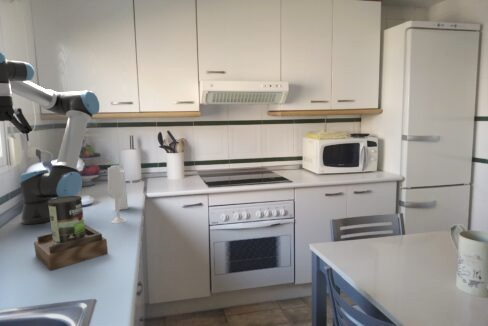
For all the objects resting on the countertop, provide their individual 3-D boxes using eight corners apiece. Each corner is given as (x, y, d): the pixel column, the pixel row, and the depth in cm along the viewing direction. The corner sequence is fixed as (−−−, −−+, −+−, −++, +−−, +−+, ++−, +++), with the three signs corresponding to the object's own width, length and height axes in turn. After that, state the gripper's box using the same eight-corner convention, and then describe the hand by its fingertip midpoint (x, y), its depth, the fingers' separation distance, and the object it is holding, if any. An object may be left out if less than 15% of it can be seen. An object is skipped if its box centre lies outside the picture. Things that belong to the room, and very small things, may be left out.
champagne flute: (114, 219, 168) (108, 166, 164) (129, 218, 167) (123, 166, 164) (108, 223, 161) (102, 169, 158) (123, 223, 161) (118, 168, 157)
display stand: (50, 270, 114) (47, 249, 113) (35, 255, 128) (33, 236, 127) (107, 253, 126) (105, 233, 125) (88, 241, 139) (86, 223, 138)
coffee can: (92, 234, 130) (87, 195, 128) (73, 245, 120) (67, 203, 118) (66, 234, 132) (61, 195, 130) (45, 244, 122) (40, 203, 120)
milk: (114, 208, 188) (109, 165, 185) (126, 206, 191) (122, 163, 188) (115, 210, 183) (110, 166, 179) (128, 208, 185) (123, 165, 182)
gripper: (24, 96, 150) (32, 148, 154) (-44, 96, 128) (-33, 157, 131) (37, 95, 147) (44, 148, 151) (-30, 95, 125) (-19, 157, 128)
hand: (8, 152), depth 141 cm, fingers open, 13 cm apart
